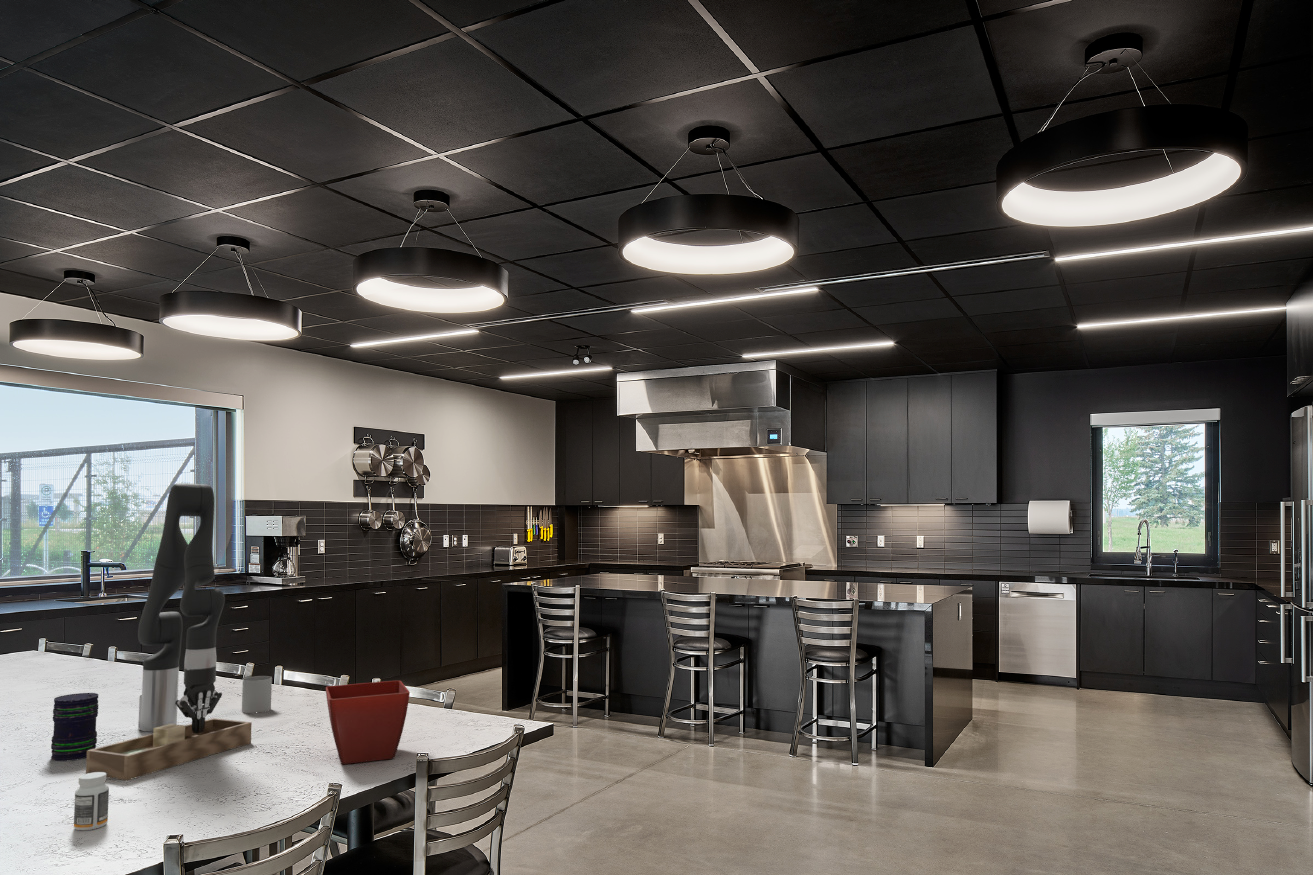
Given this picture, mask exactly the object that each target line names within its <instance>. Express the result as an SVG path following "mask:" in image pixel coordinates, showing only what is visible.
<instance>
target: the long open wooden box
mask: <svg viewBox="0 0 1313 875" xmlns="http://www.w3.org/2000/svg"><path fill="white" fill-rule="evenodd" d="M249 743H250V744H251V743H252V721H251V722H250V721H242V720H233V719H227V718H226V719H224V718H217V717H214V718H213V717H212V718H209V719H205V728H204V731H203V732H202V733H198V734H197V733H193V731H192V723H190V724H186V725H185V740H181V741H177V742H174V743H170V744H166V745H163V746H159V747H155V748H153V733H151V734H146V735H143V736H138V737H134V738H130V739H126V740H122V741H119V742H115V743H110V744H108V745H104V746H99V747H96V748H95V749H91V750H87V758H85V759H86V761H85V763H86V764H85V774H88V773H94V772H105V773H106V778H107V777H110V778H109V779H114V778H117V779H116V780H120V779H121V781H126V780H127V781H130V780H132V779H131V778H133V779H136V778H135V777H137V778H140V777H143V776H146V774H147V775H149V774H152V772H153V773H157V772H159V770H160V771H163V770H166V768H167V769H169V768H173V767H176V766H175V765H177V766H180V765H182V764H186V763H189V761H190V762H193V761H197V760H200V759H202V758H207V757H209V756H208V755H210V756H212V755H211V754H213V755H216V754H215V753H217V754H219V752H220V753H223V752H226V750H227V751H229V750H228V749H230V750H232V748H233V749H236V747H237V748H239V746H240V747H243V746H246V745H249ZM222 751H223V752H222ZM206 756H207V757H206ZM199 758H200V759H199ZM196 759H197V760H196ZM179 764H180V765H179ZM172 766H173V767H172ZM156 771H157V772H156ZM139 776H140V777H139Z"/></svg>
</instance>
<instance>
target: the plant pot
mask: <svg viewBox="0 0 1313 875" xmlns="http://www.w3.org/2000/svg"><path fill="white" fill-rule="evenodd" d="M325 694H326V695H325V696H326V703H327V709H328V717H329V722H330V723H329V724H330V727H331V733H332V737H333V740H334V743H335V747H336V748H335V749H336V751H337V754H338V758H339V762H340V763H341V764H342V765H347V764H355V763H362V762H363V763H366V762H374V761H382V760H390V759H394V758H395V756H396V753H397V751H398V747H399V745H400V741H401V738H402V735H403V730H404V726H405V722H406V719H407V718H406V717H407V713H408V709H409V708H408V706H409V700H410V690H409V689H408V688H407V687H406V686H405V684H404V683H403V681H402V680H388V681H387V680H386V681H374V682H361V683H351V684H341V685H329V686H326V687H325Z"/></svg>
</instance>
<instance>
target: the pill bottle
mask: <svg viewBox="0 0 1313 875" xmlns="http://www.w3.org/2000/svg"><path fill="white" fill-rule="evenodd" d="M106 780H107V777H106V773H105V772H94V773H88V774H86V773H85V774H82V775H80V776H79V777H78V785H79V787H78V788H77V789H76V790H75V793H74V808H73V810H74V812H73V828H74V830H76V831H79V830H86V831H93V830H96V828H97V829H99V828H102V827H104V826H105V825H106V824H107V823H108V820H109V794H110V788H109V785H108V784H107V783H105V782H106ZM92 829H93V830H92Z"/></svg>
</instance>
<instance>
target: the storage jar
mask: <svg viewBox="0 0 1313 875" xmlns="http://www.w3.org/2000/svg"><path fill="white" fill-rule="evenodd" d="M98 699H99V694H98V693H96V692H80V693H79V692H78V693H72V694H71V693H70V694H69V693H68V694H64V695H60V696H57V697H54V698H53V710H52V714H53V715H52V721H53V734H52V737H51V746H50V749H51V757H50V759H52V760H51V761H54V760H55V761H54V762H68V761H67V760H71V761H77V759H78V760H82V759H81V758H83V759H87V758H86V757H87V750H91V749H95V748H97V742H98V741H97V740H98V738H97V736H98V732H97V717H98V714H99V700H98Z"/></svg>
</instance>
